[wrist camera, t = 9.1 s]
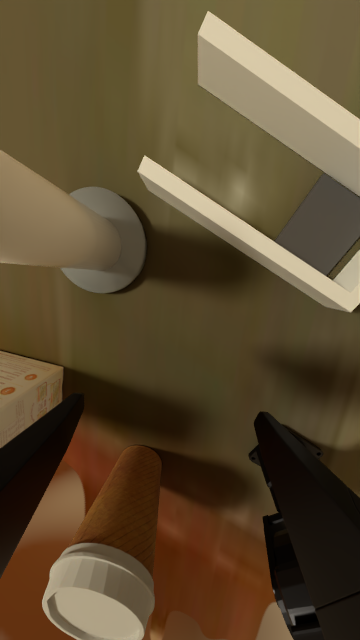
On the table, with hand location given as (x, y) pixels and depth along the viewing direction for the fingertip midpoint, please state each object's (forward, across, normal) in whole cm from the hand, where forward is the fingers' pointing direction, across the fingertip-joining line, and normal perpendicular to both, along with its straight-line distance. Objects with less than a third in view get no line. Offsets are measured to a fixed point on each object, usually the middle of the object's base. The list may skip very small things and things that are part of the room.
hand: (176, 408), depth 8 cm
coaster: (+14, +9, -6) cm, 18 cm away
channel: (+12, -6, -13) cm, 19 cm away
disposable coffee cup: (+9, +1, +23) cm, 24 cm away
